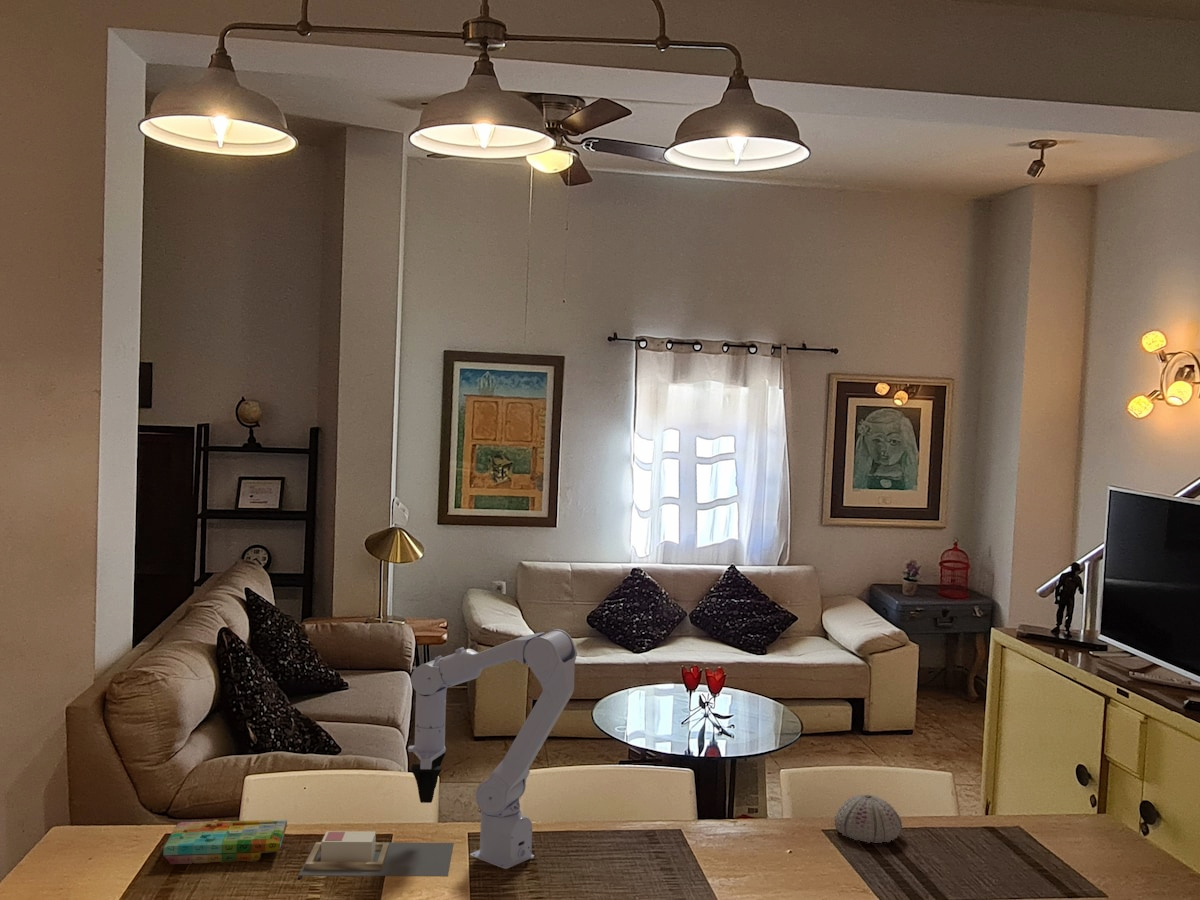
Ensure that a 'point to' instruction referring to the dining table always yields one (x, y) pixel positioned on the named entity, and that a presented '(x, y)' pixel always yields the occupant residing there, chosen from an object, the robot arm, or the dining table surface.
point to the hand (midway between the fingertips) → (428, 795)
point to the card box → (348, 846)
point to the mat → (400, 861)
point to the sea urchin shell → (868, 819)
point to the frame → (377, 865)
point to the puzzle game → (223, 841)
